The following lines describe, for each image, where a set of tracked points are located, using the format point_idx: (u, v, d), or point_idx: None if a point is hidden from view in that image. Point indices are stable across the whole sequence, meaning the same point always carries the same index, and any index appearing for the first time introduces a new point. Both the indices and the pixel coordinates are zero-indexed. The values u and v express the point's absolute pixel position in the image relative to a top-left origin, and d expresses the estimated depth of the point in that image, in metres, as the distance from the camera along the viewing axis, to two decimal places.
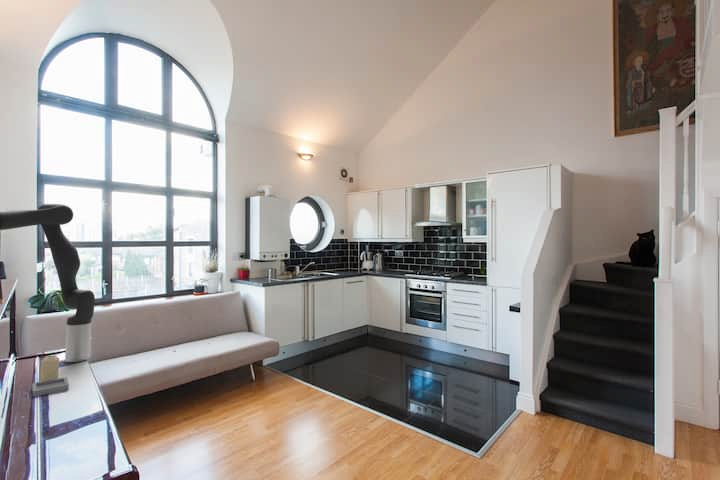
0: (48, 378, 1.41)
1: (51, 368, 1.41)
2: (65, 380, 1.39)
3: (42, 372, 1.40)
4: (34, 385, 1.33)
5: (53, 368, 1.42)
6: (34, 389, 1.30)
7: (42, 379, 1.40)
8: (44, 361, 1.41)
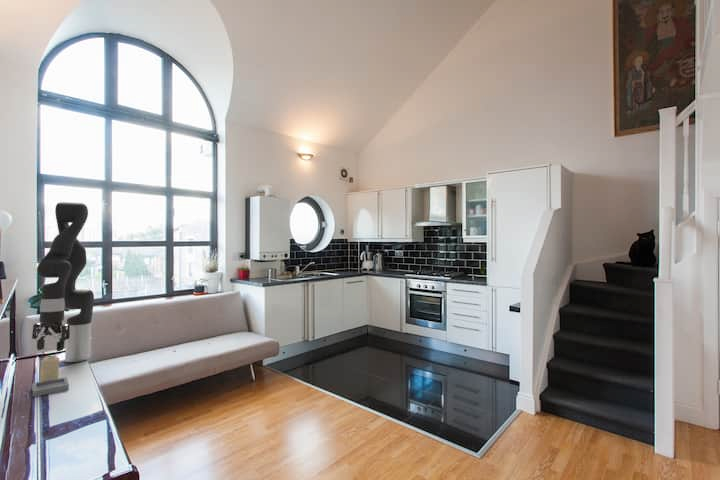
0: (48, 378, 1.41)
1: (51, 368, 1.41)
2: (65, 380, 1.39)
3: (42, 372, 1.40)
4: (34, 385, 1.33)
5: (53, 368, 1.42)
6: (34, 389, 1.30)
7: (42, 379, 1.40)
8: (44, 361, 1.41)
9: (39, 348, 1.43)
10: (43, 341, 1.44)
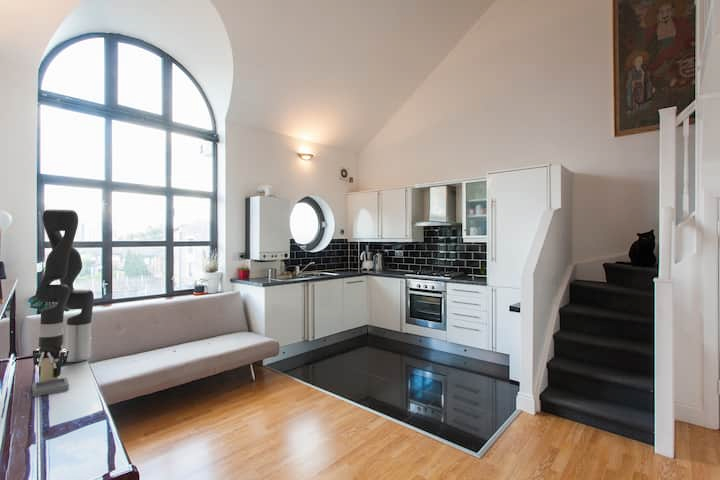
0: (48, 378, 1.41)
1: (51, 368, 1.41)
2: (65, 380, 1.39)
3: (42, 372, 1.40)
4: (34, 385, 1.33)
5: None
6: (34, 389, 1.30)
7: (42, 379, 1.40)
8: (44, 361, 1.41)
9: None
10: None
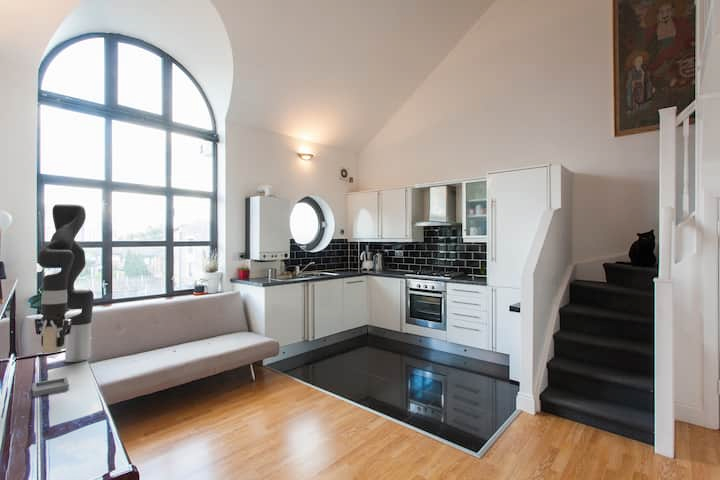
0: (51, 347, 1.33)
1: (54, 337, 1.34)
2: (65, 380, 1.39)
3: (45, 341, 1.33)
4: (34, 385, 1.33)
5: (56, 337, 1.34)
6: (34, 389, 1.30)
7: (45, 348, 1.33)
8: (47, 330, 1.33)
9: None
10: None
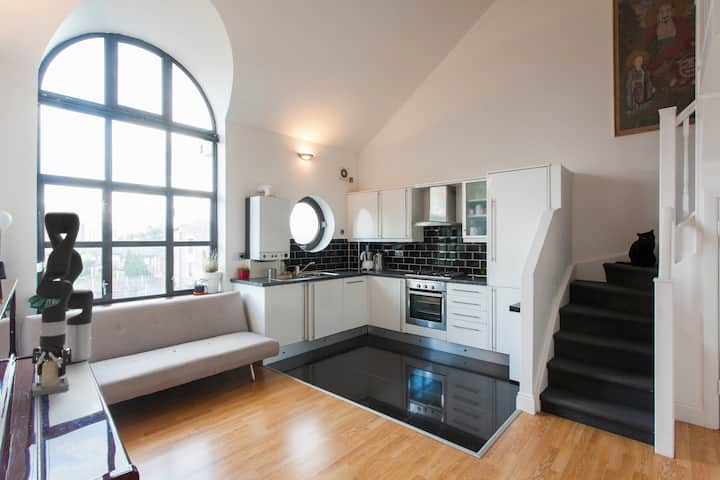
0: (50, 383, 1.33)
1: (53, 372, 1.34)
2: (65, 380, 1.39)
3: (43, 376, 1.33)
4: (34, 385, 1.33)
5: (55, 372, 1.34)
6: (34, 389, 1.30)
7: (43, 384, 1.33)
8: (46, 365, 1.33)
9: (39, 374, 1.35)
10: None
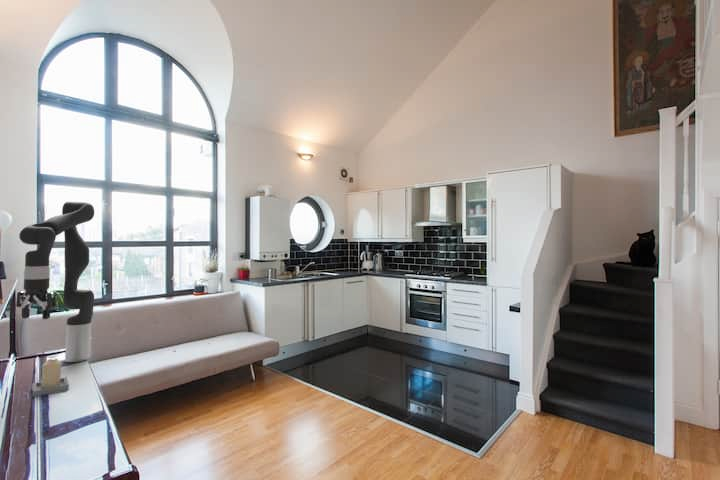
0: (50, 383, 1.33)
1: (53, 373, 1.34)
2: (65, 380, 1.39)
3: (43, 377, 1.33)
4: (34, 385, 1.33)
5: (55, 372, 1.34)
6: (34, 389, 1.30)
7: (43, 384, 1.33)
8: (46, 365, 1.33)
9: (24, 316, 1.40)
10: (28, 309, 1.41)
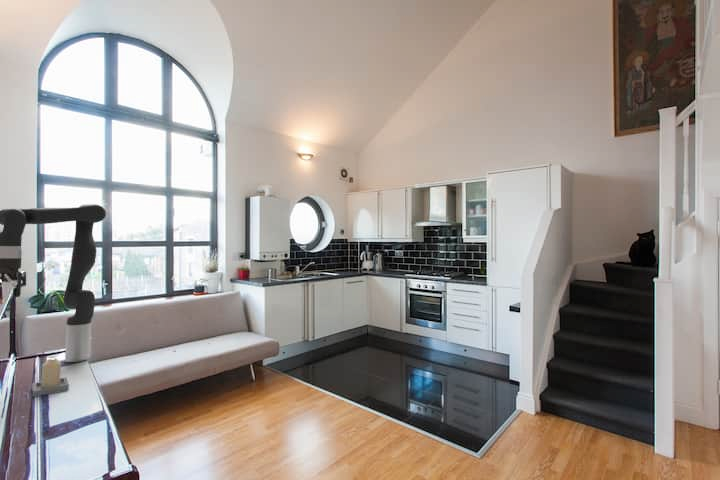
0: (50, 383, 1.33)
1: (53, 373, 1.34)
2: (65, 380, 1.39)
3: (43, 377, 1.33)
4: (34, 385, 1.33)
5: (55, 372, 1.34)
6: (34, 389, 1.30)
7: (43, 384, 1.33)
8: (45, 365, 1.33)
9: None
10: (0, 288, 1.47)
